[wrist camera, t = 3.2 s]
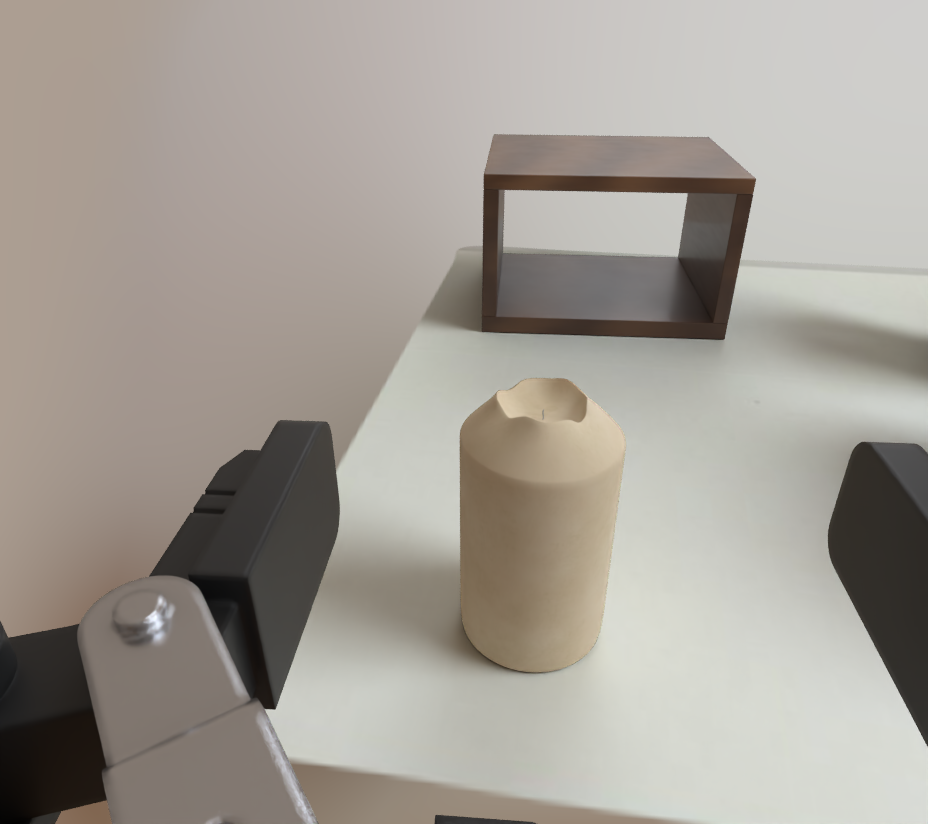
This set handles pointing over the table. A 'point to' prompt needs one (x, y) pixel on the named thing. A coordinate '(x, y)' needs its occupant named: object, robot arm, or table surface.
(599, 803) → the table surface
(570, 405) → the candle
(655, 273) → the shelf
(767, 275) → the table surface
